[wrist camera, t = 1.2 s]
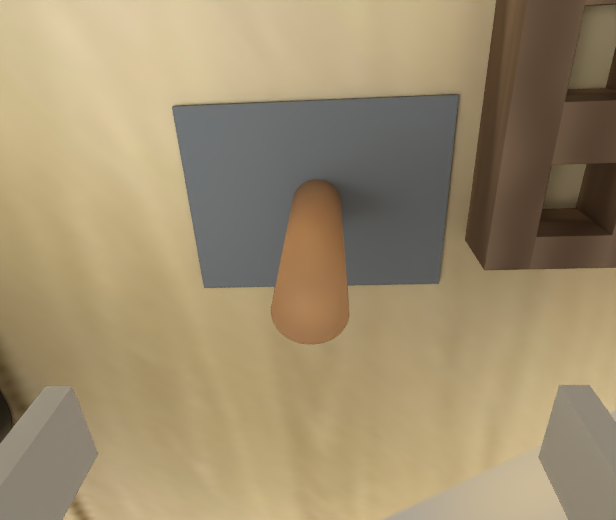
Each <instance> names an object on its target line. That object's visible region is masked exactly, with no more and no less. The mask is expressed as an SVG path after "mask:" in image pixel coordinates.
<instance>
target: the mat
mask: <svg viewBox="0 0 616 520" xmlns="http://www.w3.org/2000/svg"><path fill="white" fill-rule="evenodd" d="M458 97H459V95H458V94H449V95H424V96H400V97H376V98H352V99H328V100H303V101H279V102H255V103H231V104H207V105H182V106H173V107H172V110H173V115H174V121H175V126H176V132H177V138H178V143H179V149H180V155H181V160H182V166H183V171H184V177H185V183H186V188H187V194H188V200H189V205H190V211H191V216H192V222H193V228H194V233H195V239H196V245H197V250H198V256H199V261H200V267H201V273H202V278H203V284H204V288H230V287H275V286H276V281H277V276H278V271H279V266H280V261H281V256H282V251H283V245H284V240H285V235H286V230H287V225H288V220H289V215H290V210H291V205H292V200H293V196H294V193H295V191H296V190H297V188H298V187H299V186H300V185H301V184H303V183H304V182H306V181H309V180H314V179H320V180H324V181H327V182H329V183H331V184H332V185H333V186H334V187H335V188H336V189H337V190H338V192H339V195H340V198H341V209H342V222H343V235H344V249H345V262H346V275H347V285H392V284H439V278H440V268H441V259H442V249H443V240H444V230H445V221H446V211H447V202H448V192H449V183H450V173H451V164H452V154H453V145H454V135H455V126H456V116H457V107H458Z"/></svg>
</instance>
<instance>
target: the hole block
mask: <svg viewBox="0 0 616 520" xmlns="http://www.w3.org/2000/svg"><path fill="white" fill-rule="evenodd" d="M612 4H616V0H496V8H495V16H494V23H493V31H492V39H491V46H490V54H489V62H488V69H487V77H486V85H485V92H484V100H483V108H482V115H481V123H480V131H479V138H478V146H477V154H476V161H475V169H474V177H473V184H472V192H471V200H470V207H469V215H468V223H467V230H466V238H465V241H466V242H467V244H468V245H469V247H470V248H471V250H472V252H473V253H474V255H475V256H476V258H477V259H478V261H479V263H480V264H481V266H482V267H483V269H484V270H517V269H567V268H616V49H615V53H614V57H613V61H612V65H611V69H610V73H609V77H608V81H607V85H606V88H594V89H570V90H567V89H568V84H569V79H570V75H571V70H572V65H573V60H574V56H575V51H576V46H577V41H578V37H579V32H580V27H581V22H582V18H583V13H584V8H585V6H592V5H612ZM562 164H587V166H586V170H585V174H584V178H583V182H582V186H581V190H580V194H579V198H578V202H577V206H576V208H569V209H542V207H543V203H544V198H545V193H546V189H547V184H548V179H549V174H550V170H551V165H562Z"/></svg>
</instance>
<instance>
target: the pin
mask: <svg viewBox="0 0 616 520" xmlns="http://www.w3.org/2000/svg"><path fill="white" fill-rule="evenodd" d="M271 316H272V320H273V323H274V324H275V326H276V328H277V329H278V330H279V331H280V332H281V333H282V334H283V335H284V336H285V337H287V338H288V339H290V340H292V341H295V342H298V343H302V344H320V343H324V342H327V341H330V340H332V339H333V338H335V337H336V336H338V335H339V334H340V333H341V332H342V331H343V330H344V328H345V326H346V325H347V322H348V319H349V301H348V288H347V275H346V262H345V249H344V235H343V222H342V209H341V198H340V195H339V192H338V190H337V189H336V188H335V187H334V186H333V185H332V184H331V183H329V182H327V181H324V180H320V179H314V180H309V181H306V182H304V183H303V184H301V185H300V186H299V187H298V188H297V190H296V191H295V193H294V196H293V200H292V205H291V210H290V215H289V220H288V225H287V230H286V235H285V240H284V245H283V251H282V256H281V261H280V266H279V271H278V276H277V281H276V286H275V291H274V296H273V301H272V306H271Z"/></svg>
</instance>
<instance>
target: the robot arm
mask: <svg viewBox="0 0 616 520" xmlns="http://www.w3.org/2000/svg"><path fill="white" fill-rule="evenodd" d="M97 455H98V453H97V450H96V448H95V445H94V442H93V440H92V437H91V434H90V432H89V429H88V427H87V424H86V421H85V419H84V416H83V414H82V411H81V408H80V406H79V403H78V401H77V398H76V395H75V393H74V390H73V387H72V386H45V387H44V389H43V390H42V391H41V393H40V394H39V395H38V396H37V398H36V399H35V400H34V401H33V403H32V404H31V405H30V407H29V408H28V409H27V410H26V412H25V413H24V414H23V415H22V417H21V418H20V419H19V421H18V422H17V423H16V424H15V426H14V427H13V428H12V420H11V415H10V412H9V409H8V407H7V404H6V402H5V400H4V399H3V397H2V395H1V394H0V520H63V518H64V516H65V514H66V512H67V510H68V509H69V507H70V505H71V503H72V501H73V499H74V497H75V496H76V494H77V492H78V490H79V488H80V486H81V484H82V483H83V481H84V479H85V477H86V475H87V473H88V472H89V470H90V468H91V466H92V464H93V462H94V460H95V459H96V457H97ZM539 459H540V461H541V463H542V466H543V468H544V470H545V472H546V474H547V476H548V478H549V480H550V482H551V484H552V486H553V489H554V491H555V493H556V495H557V497H558V499H559V501H560V503H561V505H562V507H563V509H564V512H565V513H566V516H567V518H568V520H616V422H615V420H614V419H613V417H612V416H611V415H610V413H609V412H608V410H607V409H606V408H605V406H604V405H603V403H602V402H601V401H600V399H599V398H598V396H597V395H596V394H595V392H594V391H593V389H592V388H591V387H590V385H559V387H558V391H557V394H556V398H555V401H554V405H553V408H552V412H551V415H550V419H549V422H548V426H547V429H546V433H545V436H544V440H543V443H542V447H541V450H540V454H539Z"/></svg>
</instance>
